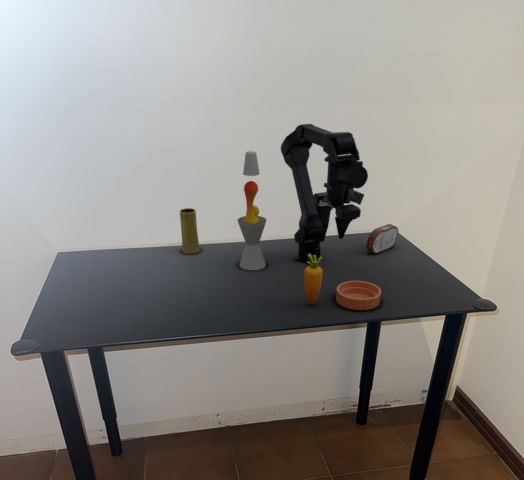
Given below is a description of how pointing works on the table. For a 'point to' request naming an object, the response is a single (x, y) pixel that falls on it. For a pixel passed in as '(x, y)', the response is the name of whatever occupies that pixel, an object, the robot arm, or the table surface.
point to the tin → (382, 238)
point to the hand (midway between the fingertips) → (333, 233)
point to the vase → (189, 231)
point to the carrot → (313, 279)
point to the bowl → (358, 295)
